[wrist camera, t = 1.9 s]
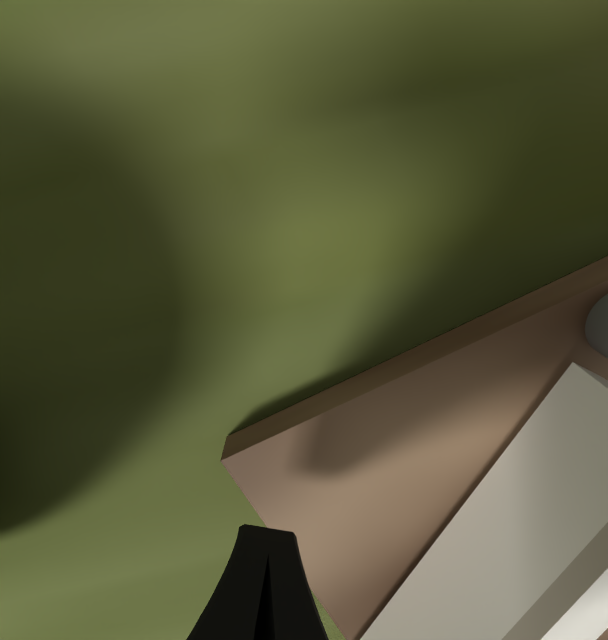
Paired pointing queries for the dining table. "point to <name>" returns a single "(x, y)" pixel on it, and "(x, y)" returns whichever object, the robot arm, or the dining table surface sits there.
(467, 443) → the board
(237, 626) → the robot arm
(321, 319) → the dining table surface
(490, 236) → the dining table surface
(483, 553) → the white bar
